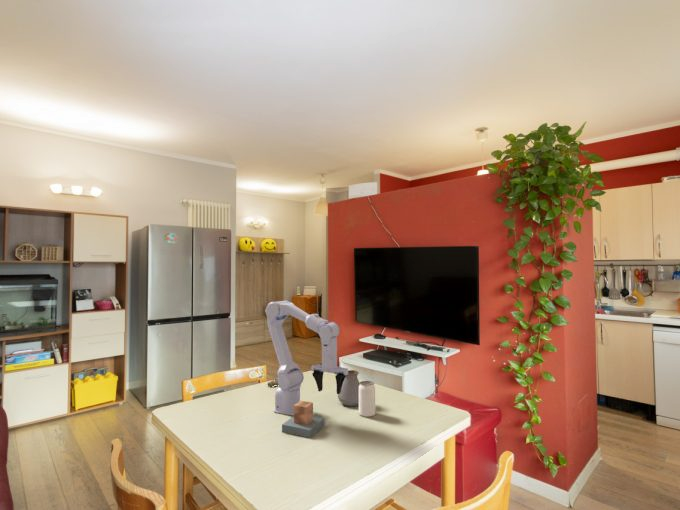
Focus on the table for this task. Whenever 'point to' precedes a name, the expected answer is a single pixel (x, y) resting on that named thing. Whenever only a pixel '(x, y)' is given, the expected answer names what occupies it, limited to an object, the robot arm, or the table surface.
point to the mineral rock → (273, 382)
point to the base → (303, 427)
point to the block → (303, 412)
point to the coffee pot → (349, 389)
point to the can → (367, 399)
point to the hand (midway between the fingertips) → (329, 392)
